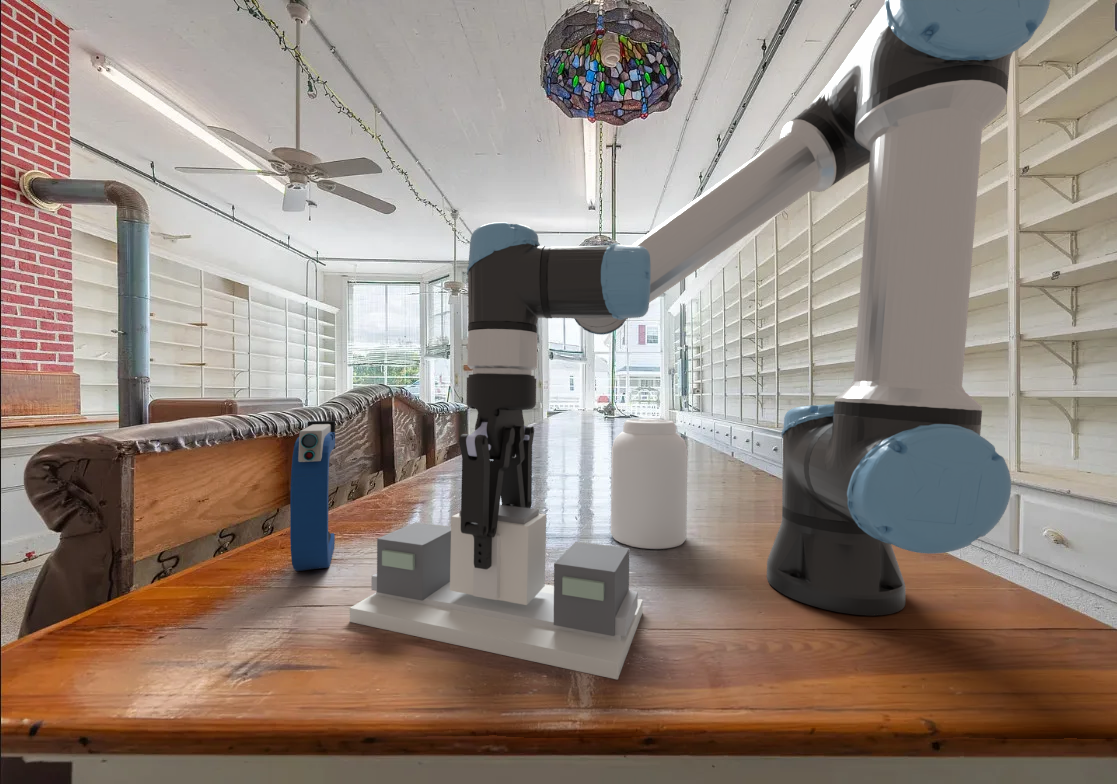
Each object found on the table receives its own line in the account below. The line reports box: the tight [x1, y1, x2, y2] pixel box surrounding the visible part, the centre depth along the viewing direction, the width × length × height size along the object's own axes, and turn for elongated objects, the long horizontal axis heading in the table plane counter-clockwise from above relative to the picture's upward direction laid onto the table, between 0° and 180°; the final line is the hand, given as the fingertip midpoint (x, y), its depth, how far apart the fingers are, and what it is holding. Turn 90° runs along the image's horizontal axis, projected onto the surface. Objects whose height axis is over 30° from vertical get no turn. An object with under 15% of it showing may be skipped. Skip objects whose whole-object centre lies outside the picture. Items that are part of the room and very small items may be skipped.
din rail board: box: [349, 521, 644, 680], centre depth 52 cm, size 29×13×8 cm, turn 71°
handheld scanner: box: [289, 420, 336, 572], centre depth 68 cm, size 5×16×20 cm, turn 21°
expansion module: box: [450, 504, 547, 605], centre depth 52 cm, size 5×9×9 cm, turn 70°
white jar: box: [610, 418, 689, 550], centre depth 80 cm, size 12×12×20 cm
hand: (498, 585), depth 52 cm, fingers closed on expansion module, 5 cm apart
